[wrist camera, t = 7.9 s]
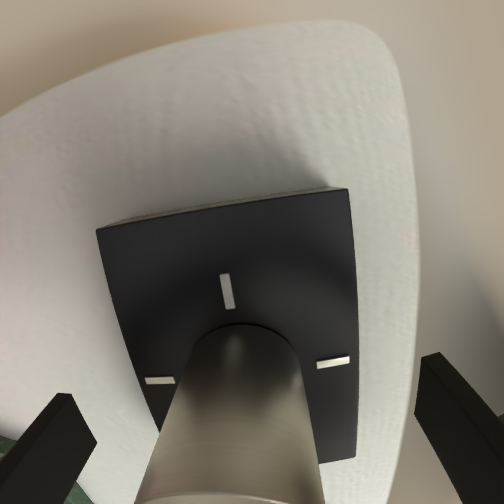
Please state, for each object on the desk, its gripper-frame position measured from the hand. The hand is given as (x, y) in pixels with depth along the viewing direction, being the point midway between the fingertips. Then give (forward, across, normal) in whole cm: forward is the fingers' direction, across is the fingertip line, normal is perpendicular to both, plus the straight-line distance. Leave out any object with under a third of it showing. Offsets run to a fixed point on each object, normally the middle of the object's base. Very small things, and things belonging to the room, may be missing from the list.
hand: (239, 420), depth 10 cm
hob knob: (+3, 0, 0) cm, 3 cm away
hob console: (+6, 0, 0) cm, 6 cm away
